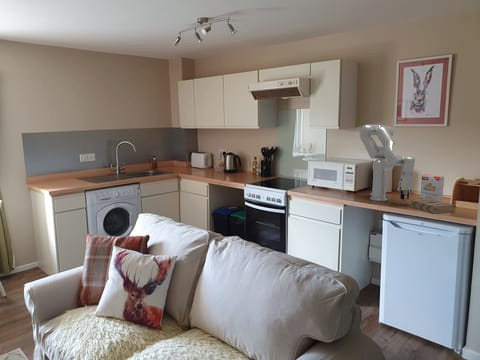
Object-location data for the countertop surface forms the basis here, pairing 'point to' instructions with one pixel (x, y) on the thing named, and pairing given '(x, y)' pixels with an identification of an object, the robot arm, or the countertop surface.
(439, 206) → the board
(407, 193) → the peg
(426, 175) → the cracker box
